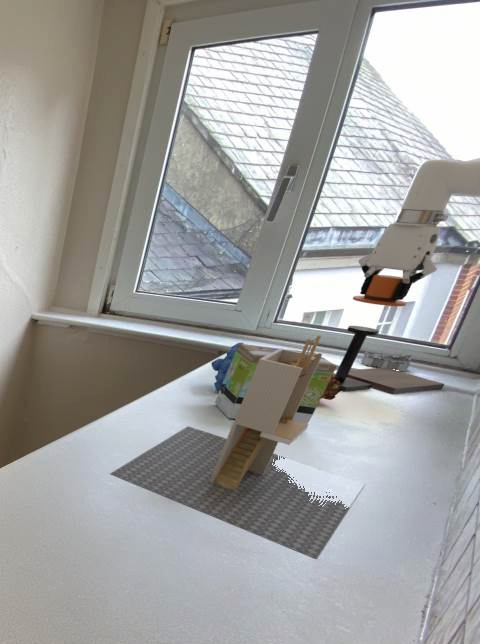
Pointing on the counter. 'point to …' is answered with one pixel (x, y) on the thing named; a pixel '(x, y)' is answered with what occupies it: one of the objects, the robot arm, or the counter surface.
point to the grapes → (223, 366)
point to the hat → (382, 291)
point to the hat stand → (353, 359)
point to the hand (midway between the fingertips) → (381, 296)
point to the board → (393, 380)
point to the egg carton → (387, 361)
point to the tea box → (244, 371)
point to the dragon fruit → (332, 389)
